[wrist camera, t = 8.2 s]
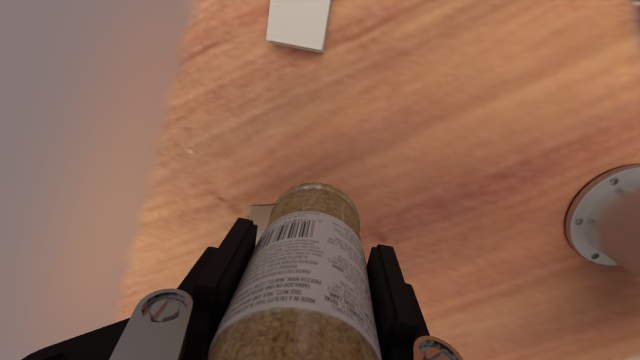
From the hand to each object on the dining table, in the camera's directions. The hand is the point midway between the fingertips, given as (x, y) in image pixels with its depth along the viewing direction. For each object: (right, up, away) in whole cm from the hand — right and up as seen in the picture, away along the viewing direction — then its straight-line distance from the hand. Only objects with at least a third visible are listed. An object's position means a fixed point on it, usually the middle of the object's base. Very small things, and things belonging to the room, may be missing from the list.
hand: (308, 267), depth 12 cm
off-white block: (-1, +19, +19) cm, 27 cm away
